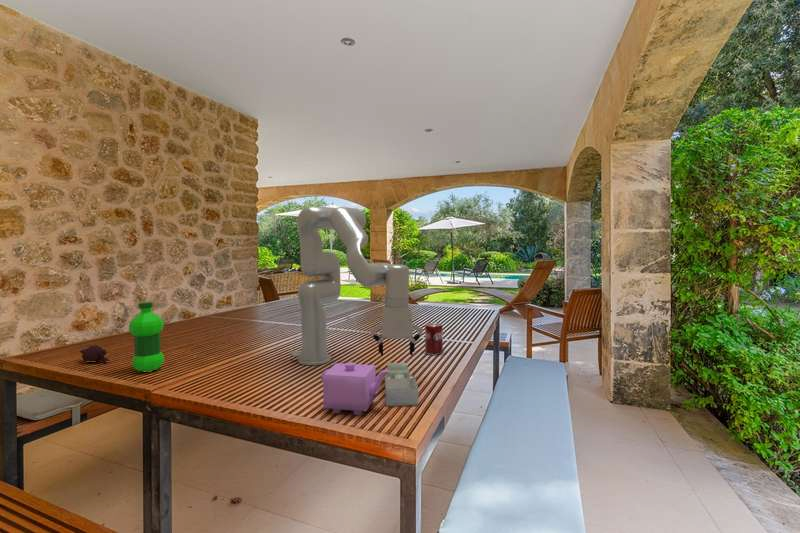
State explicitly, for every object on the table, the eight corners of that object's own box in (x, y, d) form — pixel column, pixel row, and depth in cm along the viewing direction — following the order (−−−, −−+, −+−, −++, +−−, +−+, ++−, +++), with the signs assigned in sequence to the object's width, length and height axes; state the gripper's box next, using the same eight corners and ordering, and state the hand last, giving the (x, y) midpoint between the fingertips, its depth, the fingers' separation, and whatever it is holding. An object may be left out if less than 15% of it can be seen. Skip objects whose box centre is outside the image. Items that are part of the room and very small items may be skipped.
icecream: (67, 347, 150) (94, 354, 145) (87, 338, 156) (114, 344, 152) (72, 363, 152) (99, 370, 147) (92, 353, 159) (118, 359, 154)
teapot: (314, 413, 104) (313, 367, 103) (328, 398, 114) (327, 356, 113) (387, 418, 100) (386, 371, 100) (394, 403, 110) (394, 359, 110)
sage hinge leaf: (389, 394, 117) (389, 377, 117) (387, 377, 131) (387, 363, 131) (410, 393, 117) (410, 377, 117) (406, 377, 132) (406, 362, 131)
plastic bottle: (157, 364, 148) (154, 300, 147) (170, 369, 142) (167, 302, 141) (127, 371, 140) (123, 303, 138) (139, 377, 134) (136, 305, 132)
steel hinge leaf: (386, 406, 108) (386, 388, 108) (384, 389, 120) (384, 373, 120) (418, 405, 109) (418, 387, 108) (413, 388, 121) (413, 373, 121)
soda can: (444, 351, 162) (444, 323, 162) (440, 356, 156) (440, 326, 155) (427, 350, 165) (427, 322, 164) (423, 354, 158) (422, 325, 157)
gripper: (370, 304, 121) (369, 358, 122) (425, 304, 122) (424, 357, 123) (370, 300, 128) (370, 351, 129) (422, 300, 129) (421, 350, 131)
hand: (396, 354), depth 126 cm, fingers open, 9 cm apart
